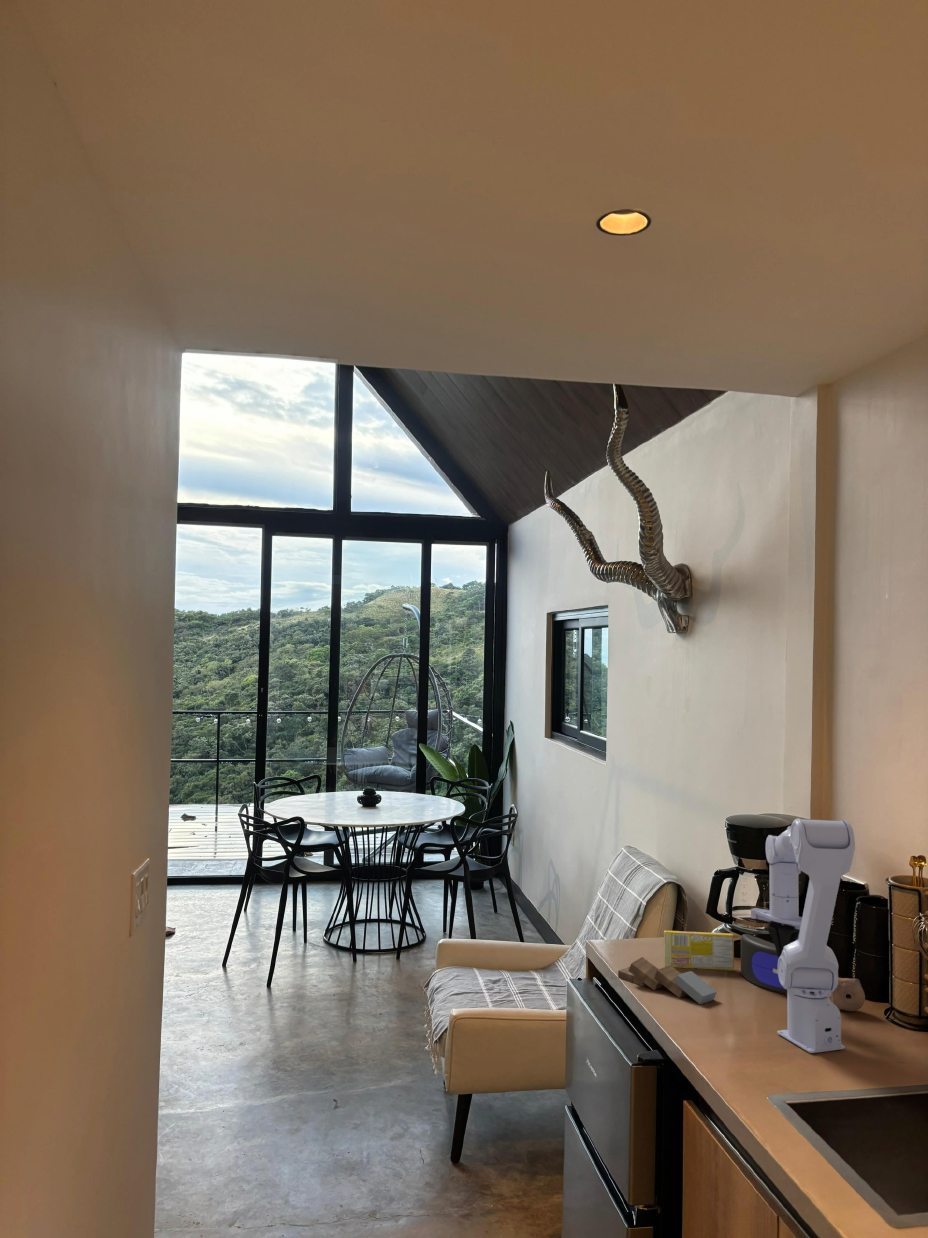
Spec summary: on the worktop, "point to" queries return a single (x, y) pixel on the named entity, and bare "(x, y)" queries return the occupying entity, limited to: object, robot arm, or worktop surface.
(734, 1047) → the worktop surface
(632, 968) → the domino
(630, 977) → the domino
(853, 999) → the oil lamp
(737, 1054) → the worktop surface
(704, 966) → the candy box
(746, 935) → the dark grey curved shell
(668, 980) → the domino
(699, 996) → the slate domino
